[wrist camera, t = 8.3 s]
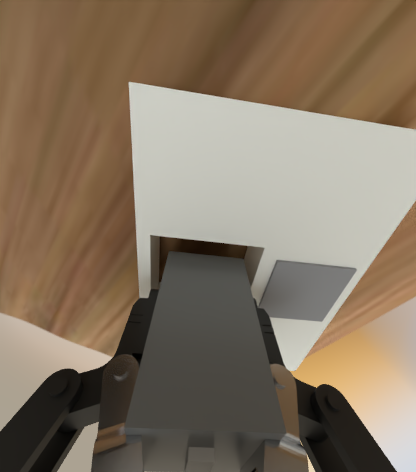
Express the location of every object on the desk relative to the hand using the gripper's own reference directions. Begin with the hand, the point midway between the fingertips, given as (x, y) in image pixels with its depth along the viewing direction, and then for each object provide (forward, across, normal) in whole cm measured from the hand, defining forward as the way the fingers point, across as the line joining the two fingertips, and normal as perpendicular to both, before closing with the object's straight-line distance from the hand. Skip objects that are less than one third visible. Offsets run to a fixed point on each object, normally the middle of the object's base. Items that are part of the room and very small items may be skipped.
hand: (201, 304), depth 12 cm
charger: (+2, 0, 0) cm, 2 cm away
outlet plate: (+5, -3, 0) cm, 5 cm away
